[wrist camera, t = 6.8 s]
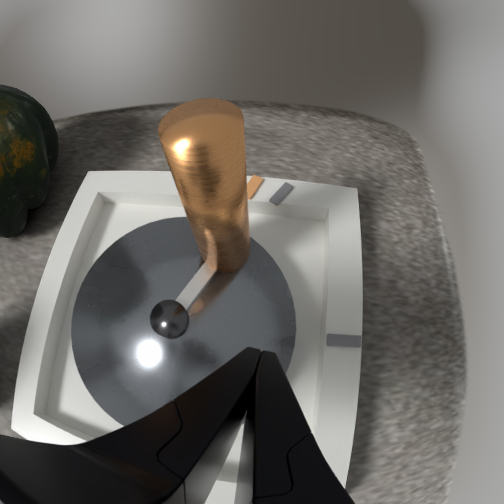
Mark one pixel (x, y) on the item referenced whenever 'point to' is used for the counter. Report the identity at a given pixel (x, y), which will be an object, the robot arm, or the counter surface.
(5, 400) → the counter surface
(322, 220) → the dial housing
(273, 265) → the dial
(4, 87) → the squash
